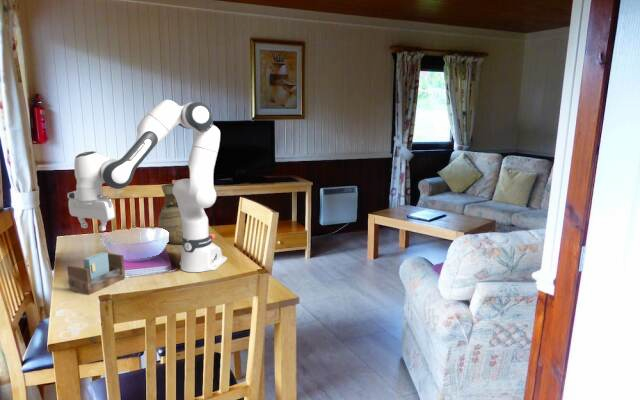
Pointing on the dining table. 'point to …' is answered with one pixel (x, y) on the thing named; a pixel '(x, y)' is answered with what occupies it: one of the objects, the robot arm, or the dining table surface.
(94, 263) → the door panel
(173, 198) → the ceramic vessel
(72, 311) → the dining table surface
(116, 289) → the dining table surface
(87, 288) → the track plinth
